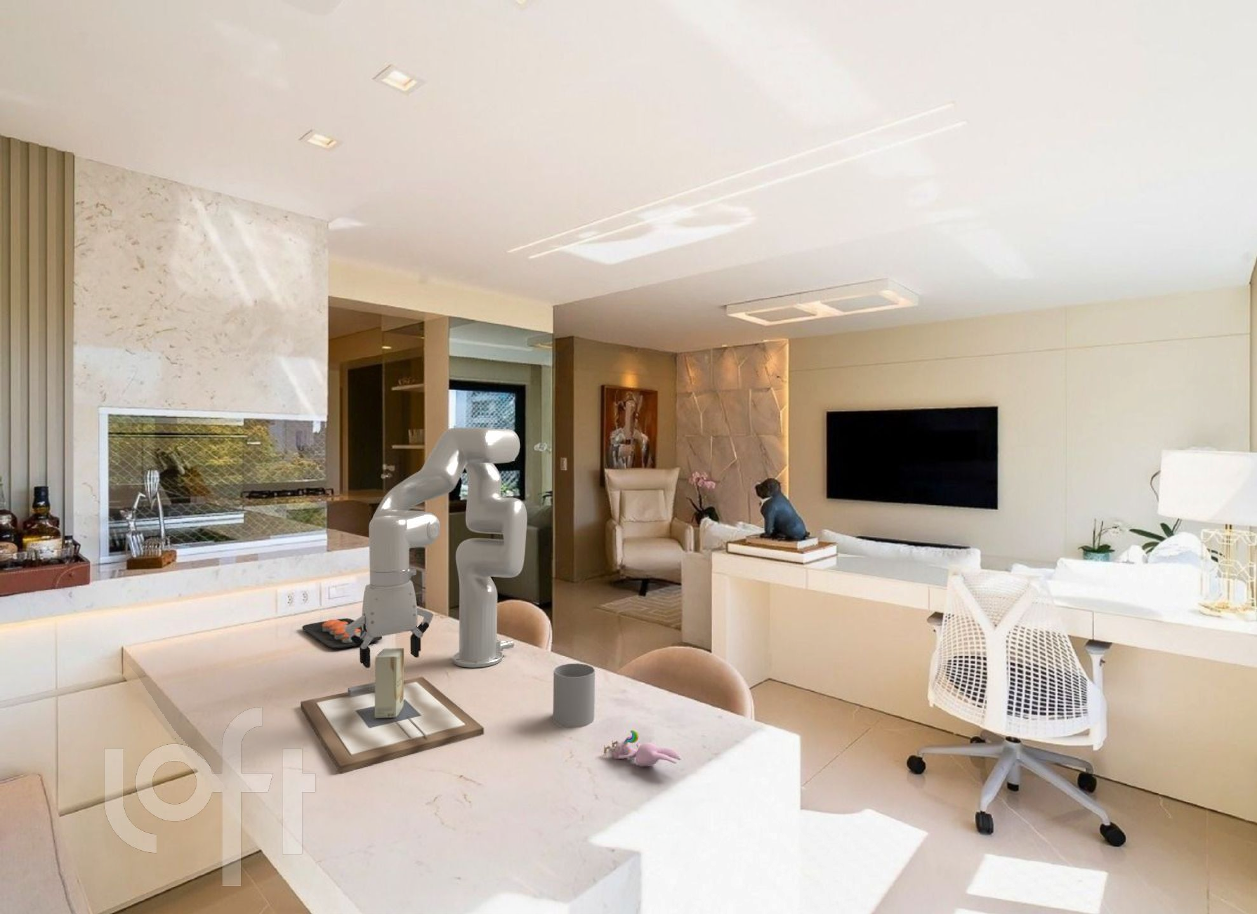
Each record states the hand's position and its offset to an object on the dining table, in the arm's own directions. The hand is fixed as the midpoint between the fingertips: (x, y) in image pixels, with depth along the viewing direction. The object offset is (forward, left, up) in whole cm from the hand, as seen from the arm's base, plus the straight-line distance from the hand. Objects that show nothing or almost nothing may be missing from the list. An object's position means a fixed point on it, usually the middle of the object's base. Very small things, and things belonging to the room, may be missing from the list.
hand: (391, 660), depth 131 cm
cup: (-30, +22, -12) cm, 39 cm away
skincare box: (0, 0, -11) cm, 11 cm away
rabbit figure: (-30, +45, -12) cm, 55 cm away
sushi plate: (-14, -67, -13) cm, 69 cm away
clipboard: (+1, +1, -12) cm, 12 cm away
